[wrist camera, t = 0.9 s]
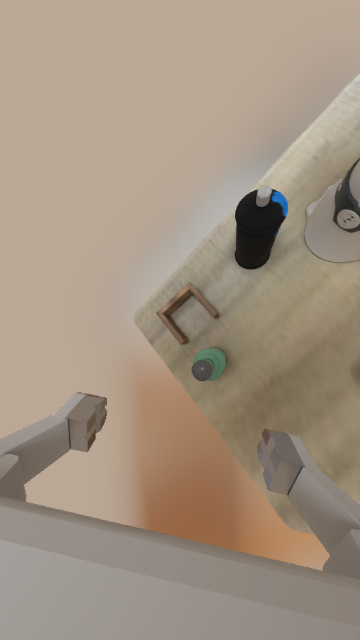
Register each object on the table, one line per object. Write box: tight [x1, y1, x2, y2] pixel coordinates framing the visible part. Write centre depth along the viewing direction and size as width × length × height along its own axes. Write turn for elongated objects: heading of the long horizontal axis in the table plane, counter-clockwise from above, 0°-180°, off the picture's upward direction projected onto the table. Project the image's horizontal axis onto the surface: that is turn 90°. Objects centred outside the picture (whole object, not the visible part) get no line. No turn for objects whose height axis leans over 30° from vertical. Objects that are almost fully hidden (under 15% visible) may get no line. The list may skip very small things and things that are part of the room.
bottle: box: [192, 347, 227, 381], centre depth 36 cm, size 6×6×20 cm
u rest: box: [156, 282, 219, 344], centre depth 46 cm, size 11×10×5 cm
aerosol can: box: [235, 186, 288, 269], centre depth 36 cm, size 8×8×20 cm
